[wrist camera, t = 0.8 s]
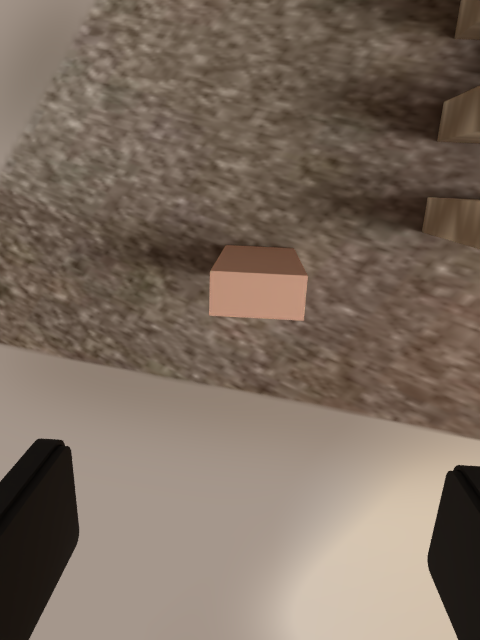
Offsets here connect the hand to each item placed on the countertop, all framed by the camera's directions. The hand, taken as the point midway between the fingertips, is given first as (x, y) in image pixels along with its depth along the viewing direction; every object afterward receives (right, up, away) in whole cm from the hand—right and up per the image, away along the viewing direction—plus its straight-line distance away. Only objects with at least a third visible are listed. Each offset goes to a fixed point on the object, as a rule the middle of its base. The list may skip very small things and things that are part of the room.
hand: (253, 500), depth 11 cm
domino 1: (+1, +9, +21) cm, 23 cm away
